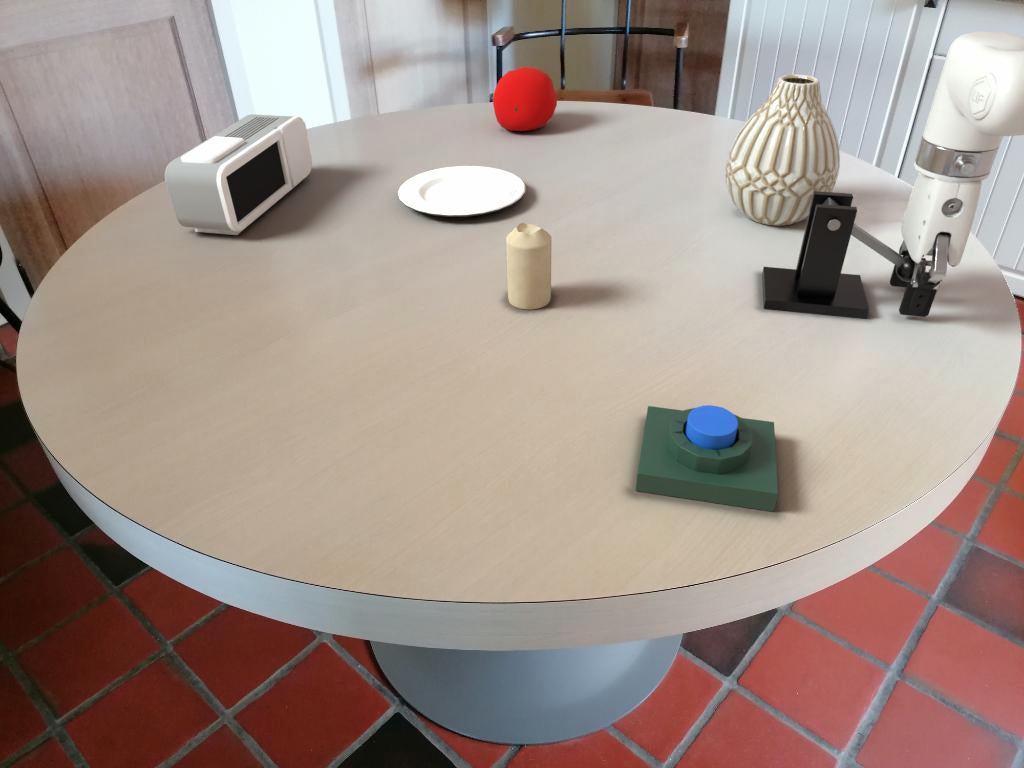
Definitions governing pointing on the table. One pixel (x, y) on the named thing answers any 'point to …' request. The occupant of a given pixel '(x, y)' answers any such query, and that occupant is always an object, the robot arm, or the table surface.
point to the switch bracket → (820, 266)
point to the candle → (529, 266)
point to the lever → (883, 250)
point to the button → (711, 427)
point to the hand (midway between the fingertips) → (907, 298)
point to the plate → (461, 191)
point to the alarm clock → (238, 173)
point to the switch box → (708, 462)
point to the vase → (784, 154)
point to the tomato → (524, 99)
